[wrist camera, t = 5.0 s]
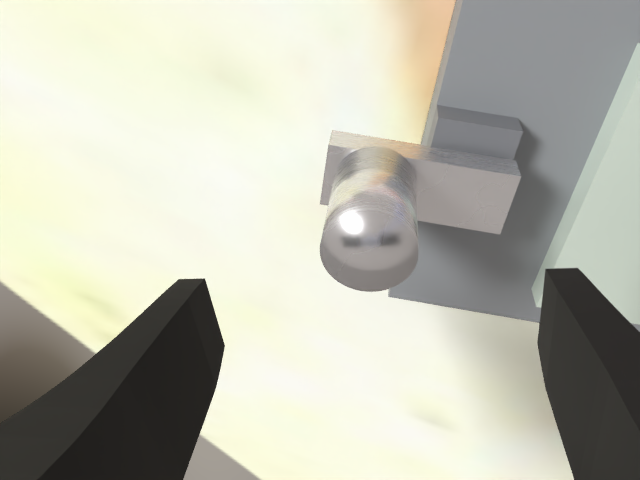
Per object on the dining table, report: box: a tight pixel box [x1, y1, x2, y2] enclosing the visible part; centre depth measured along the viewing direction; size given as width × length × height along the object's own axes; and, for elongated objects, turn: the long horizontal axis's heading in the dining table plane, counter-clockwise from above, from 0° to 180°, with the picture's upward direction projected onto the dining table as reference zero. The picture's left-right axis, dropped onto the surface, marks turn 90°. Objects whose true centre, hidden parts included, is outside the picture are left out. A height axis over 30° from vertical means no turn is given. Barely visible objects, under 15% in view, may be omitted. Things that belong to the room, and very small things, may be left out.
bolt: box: [320, 130, 521, 292], centre depth 16 cm, size 6×2×4 cm, turn 83°
